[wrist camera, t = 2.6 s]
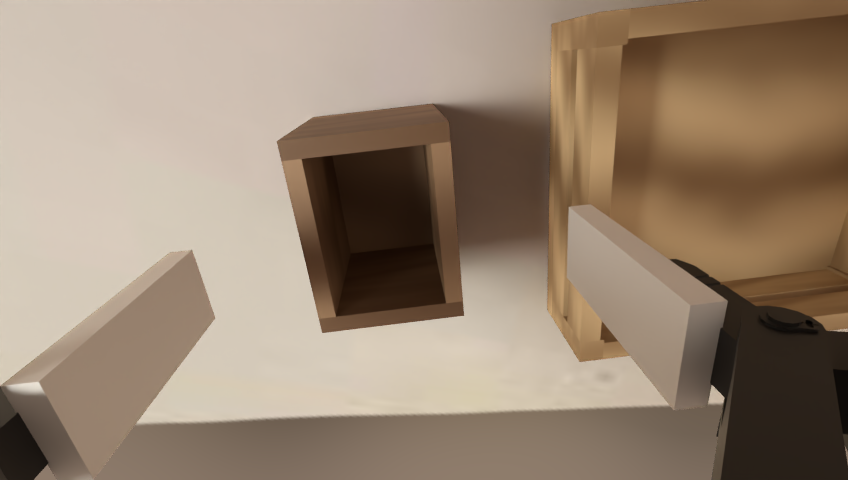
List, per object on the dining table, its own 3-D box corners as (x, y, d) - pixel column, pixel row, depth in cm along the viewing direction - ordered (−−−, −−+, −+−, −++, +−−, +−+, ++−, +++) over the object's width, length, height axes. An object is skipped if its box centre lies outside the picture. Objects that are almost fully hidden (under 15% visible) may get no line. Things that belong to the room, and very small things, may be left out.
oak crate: (551, 24, 20) (598, 12, 15) (919, -17, 20) (1072, -41, 16) (547, 309, 26) (579, 361, 22) (828, 275, 27) (918, 319, 22)
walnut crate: (313, 117, 21) (276, 141, 15) (432, 103, 21) (448, 121, 15) (341, 260, 24) (322, 332, 18) (445, 248, 24) (464, 315, 18)
